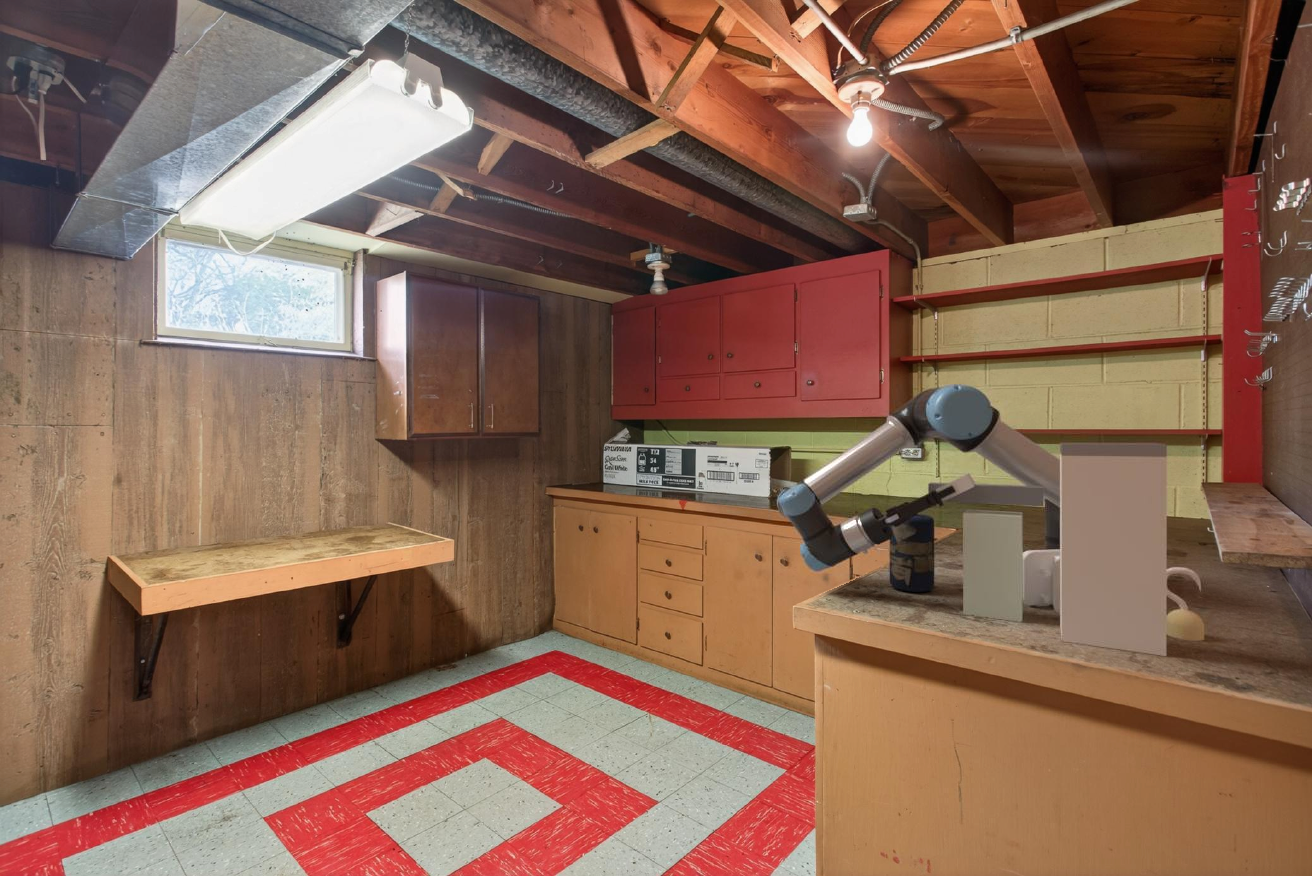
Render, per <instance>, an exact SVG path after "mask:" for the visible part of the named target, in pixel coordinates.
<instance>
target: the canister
mask: <svg viewBox="0 0 1312 876" xmlns="http://www.w3.org/2000/svg"><path fill="white" fill-rule="evenodd" d="M890 529H891V531H892V538H891V539H890V540H889V555H888V556H889V583H890V585H891V586H892V587H893V588H895V589H897V590H900V591H906V592H916V593H917V592H918V593H919V592H921V593H922V592H928V591H932V590H933V589H934V588H935V520H934V518H933V516H930V515H927V514H922V513H921V514H920V513H918V514H915V516H914V517H913V518H911V519H910V520H907V521H905V522H904V523H903V524H901V525H900V526H897V527H895V526H894V525H893V526H890Z"/></svg>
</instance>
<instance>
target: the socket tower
mask: <svg viewBox="0 0 1312 876" xmlns="http://www.w3.org/2000/svg"><path fill="white" fill-rule="evenodd" d="M1167 448H1168V447H1167V444H1165V443H1159V442H1059V459H1060V614H1059V617H1060V618H1059V625H1060V626H1059V631H1060V636H1061V642H1065V643H1071V644H1072V643H1073V644H1077V645H1085V646H1093V647H1100V648H1106V649H1113V650H1120V651H1129V652H1134V653H1139V654H1140V653H1141V654H1149V655H1155V656H1161V657H1162V656H1163V657H1167V634H1166V616H1167V596H1166V581H1167V582H1168V578H1167V569H1168V568H1167V563H1168V562H1167V559H1168V558H1167V552H1168V551H1167V550H1168V549H1167V547H1168V546H1167V545H1168V544H1167V541H1168V540H1167V539H1168V538H1167V536H1168V535H1167V527H1168V525H1167V522H1168V521H1167V511H1168V510H1167V509H1168V507H1167V503H1168V502H1167V501H1168V500H1167V498H1168V497H1167V496H1168V495H1167V494H1168V492H1167V489H1168V488H1167V487H1168V486H1167V484H1168V483H1167V479H1168V478H1167V477H1168V475H1167V473H1168V469H1167V468H1168V467H1167V464H1168V463H1167V462H1168V461H1167V459H1168V457H1167V454H1168V452H1167V450H1168V449H1167Z"/></svg>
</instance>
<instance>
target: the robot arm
mask: <svg viewBox="0 0 1312 876" xmlns="http://www.w3.org/2000/svg"><path fill="white" fill-rule="evenodd" d="M1001 419H1002V418H1001V412H1000V411H999V410H998V409H997V408H995V407H994V406H993V405H992V403H991V401H990V400H989V397H987V395H986V394H985V393H983V392H982V391H981V390H979V389H977V388H976V387H973V386H971V385H965V384H956V383H955V384H949V385H945V386H942V387H936V388H934V387H933V388H929V389H927V390H926V389H925V390H923V391H922V392H919V393H917V394H916V395H914V397H912V398H911V399H910V400H908V401H907V402H905V403H904V404H903V405H902V406H900V407H898V409H896V410H895V411H894V412H892V413H891V414H889V415H888V416H886V422H885V423H884V424H882V425H880V426H879V427H878V428H876V429H875V430H874V431H872V432H871V433H869V434H868V435H866V436H865V437H864V438H862V439H860V440H859V441H857V442H856V443H855V444H853V445H852V446H850V447H849V448H847V449H846V450H845V451H843V452H842V453H840V454H839V455H837V456H836V457H835V458H833V459H832V460H830V461H829V462H827V463H825V464H824V465H823V466H821V467H820V468H819V469H817V470H816V471H814V472H812V473H811V474H810V475H807V477H804V479H803V480H801V481H800V482H799V483H796V485H794V486H792V487H787V488H786V489H785V488H784V489H783V490H782V491H781V492H780V493H779V494H778V496H777V499H776V505H777V508H778V511H779V513H780V514H781V516H783V517H784V518H785V519H787V520H788V521H789V522H791V524H792V525H793V527H794V528H795V530H796V531H797V532H798V534H799V535H800V536H801V538H802V540H803V542H802V543H800V546H799V552H800V556H801V557H802V558H803V563H805V565H806V566H807V567H808V568H809V569H810V570H812V571H814V572H821V571H824V570H826V569H829V568H832V567H835V566H836V565H838V564H840V563H842V562H844V561H846V560H849V559H851V558H852V557H854V556H857V555H859V554H861V553H862V554H865V555H866V554H868V550H870V549H872V548H874V547H875V545H877V546H879V545H881V544H883V543H886V542H887V541H890V539H891V538H892V531H891V529H890V526H893V525H894V526H895V527H897V526H900V525H901V524H903V523H904V522H905V521H907V520H910V519H911V518H913V517H914V516H915V514H920V513H922V512H924V511H926V510H928V509H930V508H932V507H936V506H937V505H938V506H939V507H942V506H945V504H944V502H942V501H945V500H947V499H950V498H952V497H954V496H956V495H958V494H960V493H962V492H964V491H966V490H968V489H971V488H973V487H974V485H973V484H977V483H976V482H975V481H974V479H973V478H972V476H971V474H970V473H966V474H964V475H963V476H960V477H958V478H956V479H954V480H952V481H949V482H947V483H948V484H946V485H944V486H942V487H940V488H938V489H936V491H937V493H936V491H932V492H931V493H927V494H924V495H923V496H921V497H918V498H916V499H915V500H912V501H911V502H908V501H905V502H903V503H901V504H899V505H897V506H892V507H890V508H888V509H886V510H885V512H886V514H885V515H884V514H883V513H882V512H881V510H880V509H878V508H877V507H871V508H869V509H868V510H865V511H863V512H861V513H860V515H854V516H852V517H850V518H848V519H847V520H844V521H843V522H841V523H839V524H838V525H834V524H833V522H832V521H831V519H830V518H829V516H828V514H826V512H825V510H824V509H823V507H822V506H823V505H824V504H825V503H827V502H828V501H829V500H831V499H832V498H834V497H835V496H836V495H838V494H841V492H843V491H844V490H845V489H848V488H849V487H850V486H852V485H853V484H855V482H857V481H860V479H862V478H863V477H865V476H866V475H868V474H869V473H871V472H872V471H873V470H875V469H876V468H878V467H879V466H881V465H882V464H884V463H885V462H887V461H888V460H890V459H892V458H893V457H894V456H896V455H897V454H898V453H900V452H901V451H904V450H905V448H906V449H907V448H908V449H914V448H915V447H916V446H918V445H920V444H921V443H923V442H925V441H928V440H931V439H935V438H936V439H937V438H938V439H942V440H943V441H945V442H946V443H948V444H949V445H952V447H954V448H956V449H958V450H959V451H960V452H962V453H964V454H968V453H973V452H974V453H976V454H978V455H979V456H981V457H982V458H984V459H985V460H987V461H988V462H990V463H991V464H993V465H995V466H996V467H997V468H999V469H1001V470H1002V471H1004V472H1005V473H1006V474H1008V475H1009V476H1011V477H1012V478H1014V479H1015V480H1017V481H1019V482H1020V483H1022V484H1023V485H1024V486H1043V487H1044V546H1043V549H1042V550H1055V549H1060V458H1058V457H1057V456H1055V455H1054V454H1052V453H1051V452H1049V451H1048V450H1046V449H1044V448H1042V447H1041V446H1040V445H1038V444H1037V443H1035V442H1033V440H1031V439H1029V438H1028V437H1026V436H1025V435H1023V434H1022V433H1020V432H1018V431H1017V430H1015V429H1014V428H1013V427H1011V426H1010V425H1009V424H1007V423H1005V422H1003V421H1002V420H1001ZM941 499H942V501H941Z"/></svg>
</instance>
